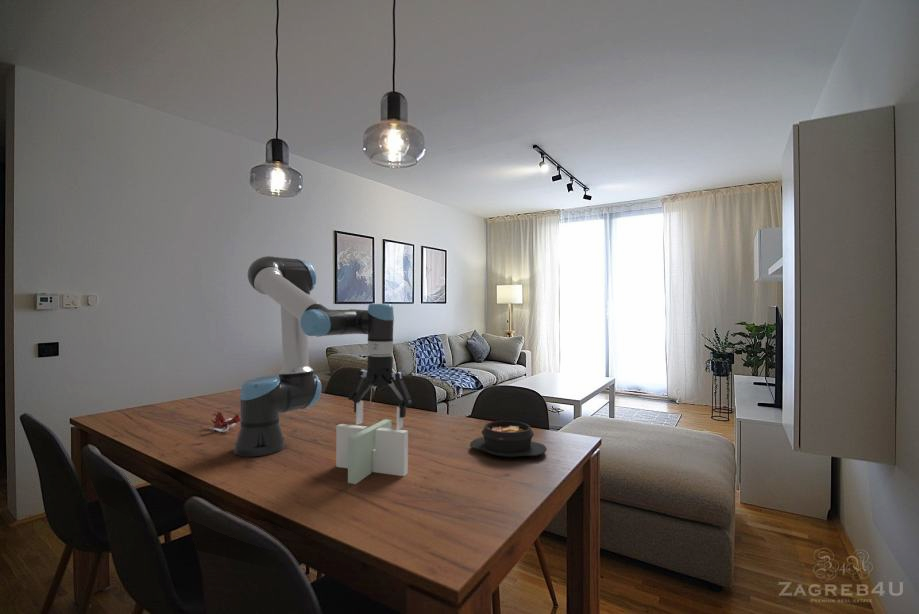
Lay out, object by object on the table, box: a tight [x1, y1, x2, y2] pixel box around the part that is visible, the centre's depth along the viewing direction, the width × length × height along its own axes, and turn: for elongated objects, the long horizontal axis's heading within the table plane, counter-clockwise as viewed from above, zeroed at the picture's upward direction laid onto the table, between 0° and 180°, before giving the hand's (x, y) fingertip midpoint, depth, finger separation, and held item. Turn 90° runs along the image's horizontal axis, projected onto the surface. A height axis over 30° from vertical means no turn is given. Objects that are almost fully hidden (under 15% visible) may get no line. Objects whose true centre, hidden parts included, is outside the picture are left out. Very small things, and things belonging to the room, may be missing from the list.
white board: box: [335, 423, 409, 477], centre depth 121 cm, size 22×2×12 cm, turn 72°
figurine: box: [207, 410, 241, 433], centre depth 160 cm, size 15×12×7 cm
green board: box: [347, 418, 392, 485], centre depth 121 cm, size 20×2×12 cm, turn 162°
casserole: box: [469, 420, 547, 458], centre depth 137 cm, size 25×19×8 cm
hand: (379, 425), depth 126 cm, fingers open, 13 cm apart
